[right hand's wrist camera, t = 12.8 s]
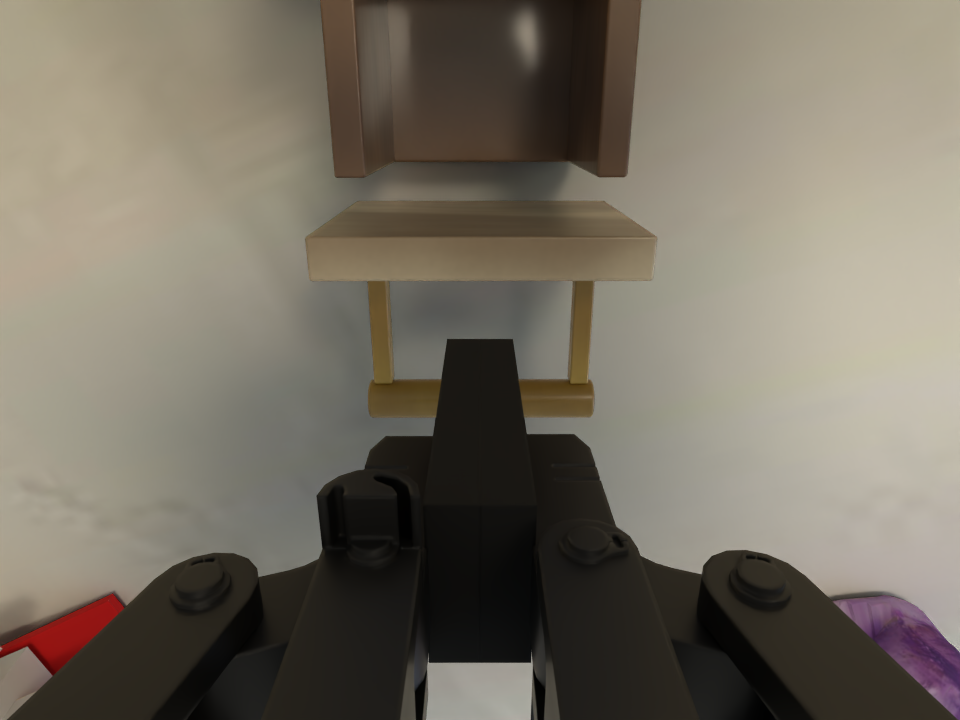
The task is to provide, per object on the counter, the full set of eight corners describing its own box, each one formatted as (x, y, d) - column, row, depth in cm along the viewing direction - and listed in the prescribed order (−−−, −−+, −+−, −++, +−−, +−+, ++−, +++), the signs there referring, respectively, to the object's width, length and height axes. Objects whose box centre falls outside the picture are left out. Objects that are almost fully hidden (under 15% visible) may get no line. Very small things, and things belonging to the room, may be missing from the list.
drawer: (593, 364, 25) (635, 456, 19) (368, 365, 25) (327, 456, 19) (646, -386, 17) (756, -716, 10) (314, -385, 17) (205, -716, 10)
